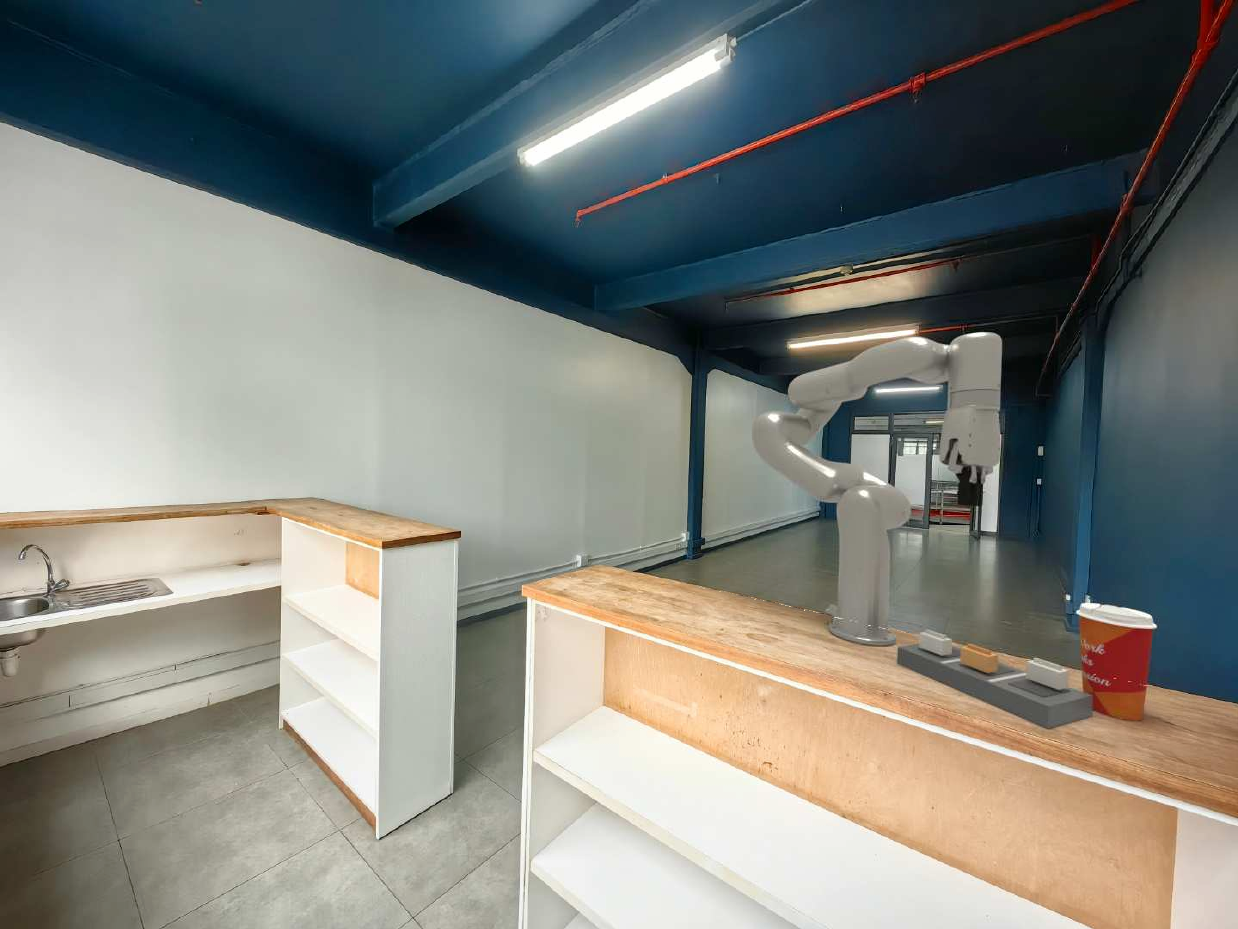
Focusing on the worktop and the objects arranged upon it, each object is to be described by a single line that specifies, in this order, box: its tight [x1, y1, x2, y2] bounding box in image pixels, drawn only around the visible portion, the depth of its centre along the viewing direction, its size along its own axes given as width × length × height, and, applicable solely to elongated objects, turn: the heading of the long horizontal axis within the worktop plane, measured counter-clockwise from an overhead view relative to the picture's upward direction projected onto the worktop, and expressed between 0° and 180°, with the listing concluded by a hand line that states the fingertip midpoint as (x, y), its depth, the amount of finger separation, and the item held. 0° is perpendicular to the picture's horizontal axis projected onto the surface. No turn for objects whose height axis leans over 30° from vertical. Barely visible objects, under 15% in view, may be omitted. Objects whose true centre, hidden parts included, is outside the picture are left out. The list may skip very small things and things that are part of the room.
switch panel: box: [896, 643, 1093, 730], centre depth 75 cm, size 22×11×3 cm, turn 22°
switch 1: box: [918, 629, 953, 656], centre depth 81 cm, size 4×2×3 cm, turn 22°
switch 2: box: [960, 643, 999, 673], centre depth 74 cm, size 4×2×3 cm, turn 22°
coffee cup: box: [1075, 602, 1158, 722], centre depth 69 cm, size 8×8×15 cm
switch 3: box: [1025, 657, 1070, 690], centre depth 69 cm, size 4×2×3 cm, turn 22°
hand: (969, 505), depth 83 cm, fingers closed
